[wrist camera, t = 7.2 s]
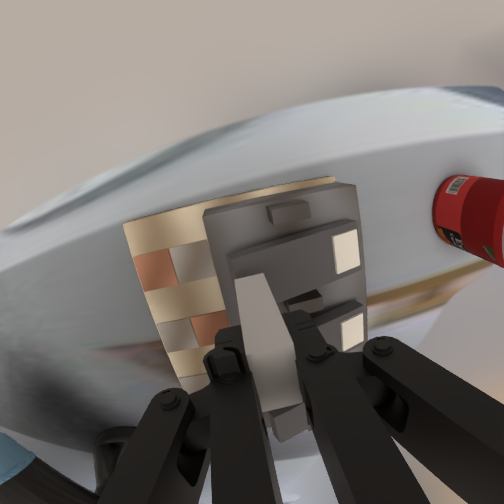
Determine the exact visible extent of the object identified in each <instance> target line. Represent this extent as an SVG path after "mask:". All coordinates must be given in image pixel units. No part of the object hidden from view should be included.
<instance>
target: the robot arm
mask: <svg viewBox="0 0 504 504" xmlns="http://www.w3.org/2000/svg"><path fill="white" fill-rule="evenodd" d="M234 281H235V288H236V295H237V302H238V308H239V315H240V321H241V325H237V326H232V327H227V328H223V329H219V331H218V332H217V334H216V335H215V348H214V349H212V350H210V351H209V352H208V353H207V354H206V355H205V356H204V358H203V364H204V366H205V369H206V371H207V374H208V377H209V379H210V383H209V384H208V385H207V386H206V387H204V388H203V389H201V390H199V391H196V392H194V393H191V394H188V393H187V392H186V391H185V390H183V389H180V388H169V389H166V390H163V391H161V392H160V393H158V394H157V395H155V396H154V398H153V399H152V400H151V402H150V404H149V406H148V407H147V409H146V411H145V413H144V415H143V417H142V419H141V420H140V422H139V424H138V426H137V428H132V427H118V428H112V429H108V430H106V431H104V432H102V433H101V434H100V435H99V436H98V438H97V441H96V444H95V447H94V451H93V457H94V468H95V477H96V491H95V493H93V492H92V491H90V490H88V489H86V488H84V487H83V486H81V485H79V484H78V483H76V482H74V481H73V480H71V479H69V478H68V477H66V476H64V475H63V474H61V473H60V472H58V471H57V470H55V469H54V468H52V467H51V466H49V465H48V464H46V463H45V462H44V461H42V460H41V459H39V458H38V457H37V456H36V455H35V454H34V453H33V452H31V451H28V450H27V449H25V448H24V447H23V446H21V445H20V444H19V443H17V442H16V441H15V440H13V439H12V438H11V437H9V436H8V435H6V434H4V433H1V432H0V504H198V502H199V499H200V495H201V492H202V488H203V485H204V481H205V478H206V474H207V471H208V467H209V464H210V460H211V487H212V504H283V502H282V497H281V493H280V488H279V484H278V479H277V475H276V470H275V466H274V461H273V457H272V452H271V447H270V443H269V438H268V433H267V428H266V424H265V420H264V417H263V413H262V412H266V411H271V410H275V409H279V408H283V407H287V406H291V405H295V404H299V403H302V402H303V400H304V403H305V409H306V416H307V423H308V425H311V428H312V431H313V433H314V436H315V439H316V442H317V445H318V447H319V450H320V453H321V456H322V458H323V461H324V464H325V467H326V470H327V472H328V475H329V478H330V481H331V483H332V486H333V489H334V492H335V495H336V497H337V500H338V503H339V504H430V502H429V500H428V498H427V497H426V495H425V493H424V491H423V490H422V488H421V486H420V484H419V483H418V481H417V479H416V478H415V476H414V474H413V473H412V471H411V469H410V467H409V466H408V464H407V462H406V461H405V459H404V457H403V456H402V454H401V452H400V451H399V449H398V447H397V446H396V444H395V442H394V441H393V439H392V437H393V438H394V439H395V440H396V441H397V442H398V443H399V444H400V445H402V446H403V447H404V448H405V449H406V450H407V451H408V452H409V453H410V454H411V455H413V456H414V457H415V458H416V459H417V460H418V461H419V462H420V463H422V464H423V465H424V466H425V467H426V468H427V469H428V470H429V471H431V472H432V473H433V474H434V475H435V476H436V477H437V478H439V479H440V480H441V481H442V482H443V483H444V484H446V485H447V486H448V487H449V488H450V489H451V490H453V491H454V492H455V493H456V494H457V495H458V496H460V497H461V498H462V499H463V500H464V501H466V502H467V503H468V504H504V405H503V404H502V403H500V402H499V401H497V400H495V399H494V398H492V397H490V396H489V395H487V394H486V393H484V392H482V391H481V390H479V389H477V388H476V387H474V386H472V385H471V384H469V383H468V382H466V381H464V380H463V379H461V378H459V377H458V376H456V375H455V374H453V373H451V372H449V371H448V370H446V369H445V368H443V367H442V366H440V365H438V364H437V363H435V362H433V361H432V360H430V359H428V358H427V357H425V356H424V355H422V354H420V353H419V352H417V351H415V350H414V349H412V348H411V347H409V346H407V345H406V344H404V343H402V342H401V341H399V340H398V339H395V338H393V337H388V336H381V337H375V338H373V339H370V340H369V341H368V342H366V343H365V345H364V346H363V351H360V352H348V353H345V352H339V351H338V350H337V349H336V348H335V347H334V346H333V345H330V344H327V342H326V341H325V339H324V338H323V336H322V334H321V333H320V331H319V329H318V328H317V326H316V324H315V323H314V321H313V319H312V318H311V316H310V315H309V313H307V312H305V311H303V310H301V309H299V310H295V311H292V312H288V313H284V314H281V313H280V311H279V309H278V306H277V304H276V302H275V299H274V297H273V295H272V292H271V290H270V287H269V285H268V283H267V280H266V278H265V276H264V273H261V274H257V275H252V276H248V277H244V278H239V279H235V280H234ZM302 397H303V399H302ZM390 435H391V436H392V437H391V436H390Z"/></svg>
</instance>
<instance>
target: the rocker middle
mask: <svg viewBox="0 0 504 504" xmlns="http://www.w3.org/2000/svg"><path fill="white" fill-rule="evenodd" d="M313 321H314V323H315V324H316V326H317V328H318V329H319V331H320V333H321V334H322V336H323V338H324V339H325V341H326V342H327V344H330V345H333V346H334V347H335V348H336V349H337V350H338V351H339V352H345V353H347V352H349V351H351V350H353V349H355V348H357V347H359V346H360V345H362V344H364V343H365V318H364V305H363V304H361V303H359V302H357V301H356V300H353V301H351V302H349V303H347V304H344V305H342V306H340V307H338V308H336V309H333V310H331V311H329V312H327V313H324V314H322V315H320V316H317V317H315V318H313Z"/></svg>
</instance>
